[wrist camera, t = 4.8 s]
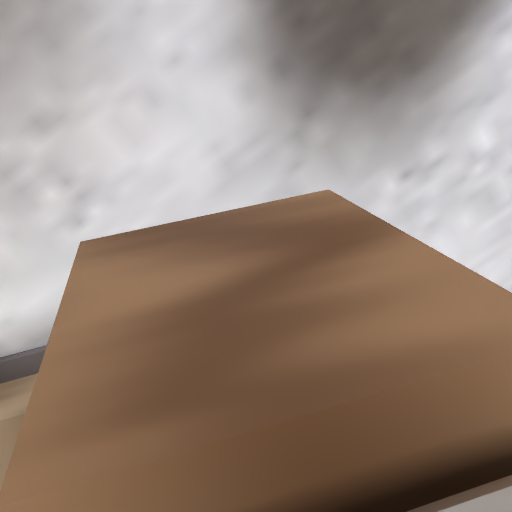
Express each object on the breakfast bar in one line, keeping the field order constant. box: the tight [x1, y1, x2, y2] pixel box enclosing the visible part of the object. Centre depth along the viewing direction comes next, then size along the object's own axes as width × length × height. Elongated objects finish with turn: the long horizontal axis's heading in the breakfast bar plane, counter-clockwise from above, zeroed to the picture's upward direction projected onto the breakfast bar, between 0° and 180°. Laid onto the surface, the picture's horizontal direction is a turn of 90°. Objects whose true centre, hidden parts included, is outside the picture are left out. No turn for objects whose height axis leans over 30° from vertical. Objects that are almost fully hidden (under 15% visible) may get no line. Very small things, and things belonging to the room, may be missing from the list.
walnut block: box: [0, 190, 512, 512], centre depth 9 cm, size 6×6×7 cm
